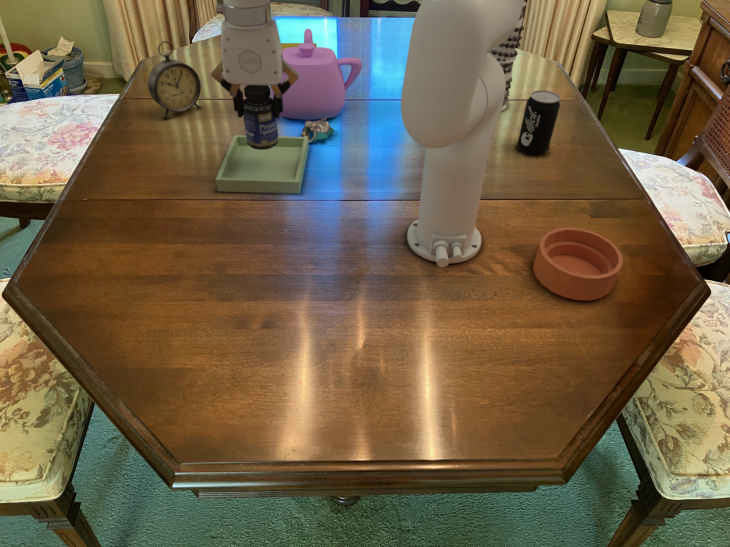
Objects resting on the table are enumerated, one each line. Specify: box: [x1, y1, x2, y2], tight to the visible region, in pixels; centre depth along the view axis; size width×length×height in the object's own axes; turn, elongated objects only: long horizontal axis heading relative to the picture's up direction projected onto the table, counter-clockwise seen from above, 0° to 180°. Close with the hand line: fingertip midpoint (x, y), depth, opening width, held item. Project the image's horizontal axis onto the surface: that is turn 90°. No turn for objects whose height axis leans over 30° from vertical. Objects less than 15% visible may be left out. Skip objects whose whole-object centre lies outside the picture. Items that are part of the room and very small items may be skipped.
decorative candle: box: [489, 0, 528, 112], centre depth 127 cm, size 9×9×25 cm
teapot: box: [270, 28, 363, 120], centre depth 129 cm, size 23×21×15 cm
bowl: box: [532, 226, 624, 302], centre depth 87 cm, size 12×12×5 cm
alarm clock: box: [147, 40, 202, 120], centre depth 124 cm, size 11×5×16 cm, turn 131°
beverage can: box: [517, 89, 561, 156], centre depth 115 cm, size 7×7×12 cm
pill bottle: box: [242, 85, 279, 150], centre depth 104 cm, size 6×6×11 cm
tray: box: [215, 134, 310, 195], centre depth 110 cm, size 18×16×3 cm
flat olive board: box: [281, 42, 318, 50], centre depth 154 cm, size 12×2×24 cm
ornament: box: [300, 118, 335, 144], centre depth 120 cm, size 8×7×4 cm
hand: (259, 113), depth 103 cm, fingers closed on pill bottle, 6 cm apart
